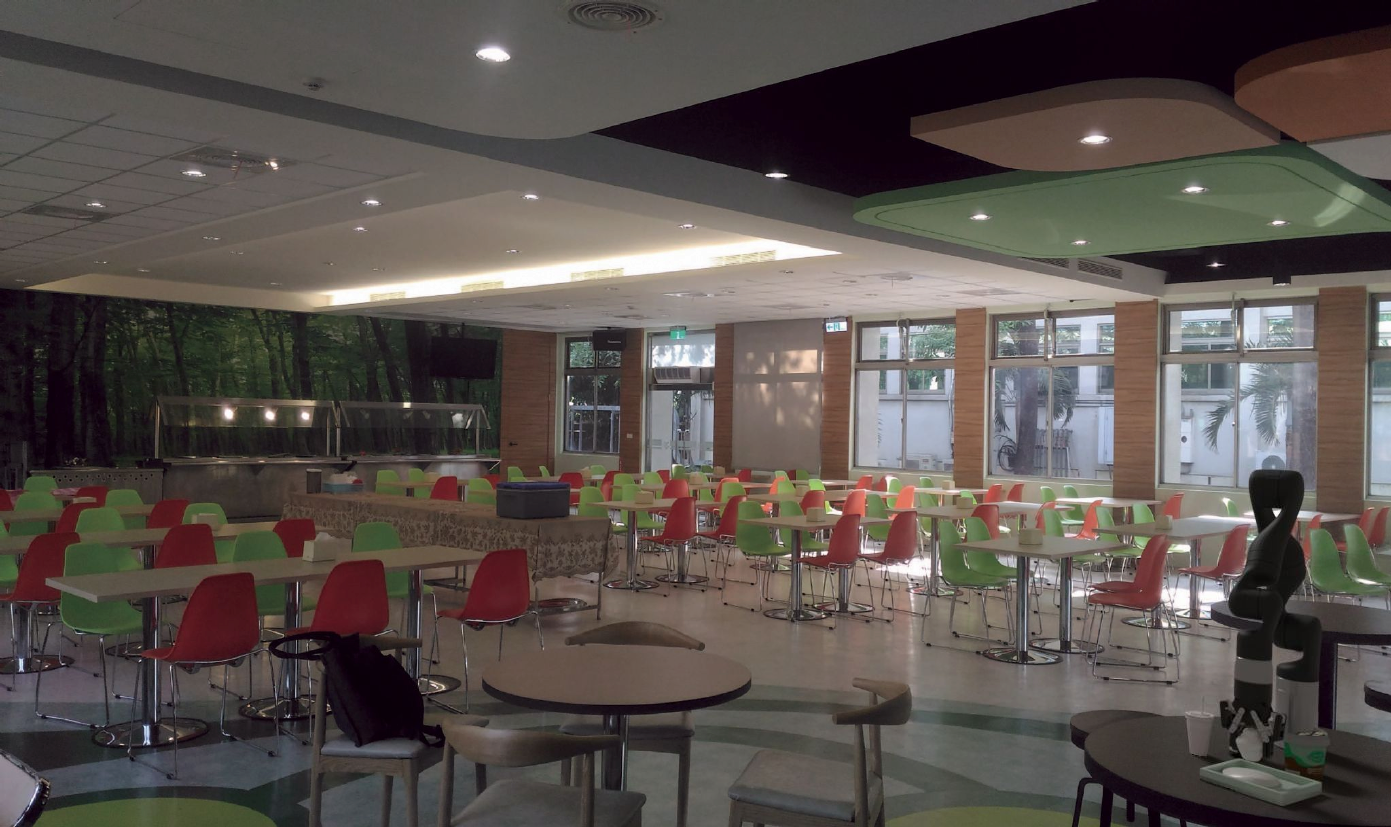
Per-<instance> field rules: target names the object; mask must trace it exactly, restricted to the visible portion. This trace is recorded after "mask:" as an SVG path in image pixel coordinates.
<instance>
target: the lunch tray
mask: <svg viewBox="0 0 1391 827" xmlns="http://www.w3.org/2000/svg"><path fill="white" fill-rule="evenodd" d="M1199 778H1201V779H1202V780H1206V781H1208V782H1207V783H1209V782H1212V783H1214V784H1213V785H1215V784H1218V785H1220V786H1219V787H1221V786H1224V787H1226V788H1225V789H1227V788H1230V789H1231V791H1233V790H1235V791H1234V792H1236V793H1240V794H1243V795H1246V796H1249V797H1252V798H1256V799H1259V800H1262V801H1265V802H1268V803H1271V804H1274V805H1277V806H1281V807H1284V806H1288V805H1291V804H1295V803H1297V802H1301V801H1304V800H1307V799H1310V798H1313V797H1317V796H1320V795H1322V791H1323V790H1322V788H1323V787H1322V786H1323V783H1322V781H1320V780H1312V779H1308V778H1305V777H1302V776H1298V775H1295V774H1291V773H1288V772H1285V770H1282V769H1281V770H1280V769H1277V768H1273V767H1270V766H1267V765H1264V764H1261V763H1257V762H1255V761H1249V760H1244V759H1240V758H1234V759H1230V760H1227V761H1223V762H1220V763H1219V762H1218V763H1215V764H1212V765H1207V766H1204V767H1200V768H1199ZM1202 780H1201V781H1202ZM1206 781H1205V782H1206ZM1212 783H1211V784H1212ZM1218 785H1217V786H1218ZM1224 787H1223V788H1224ZM1230 789H1229V790H1230Z"/></svg>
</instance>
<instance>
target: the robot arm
mask: <svg viewBox="0 0 1391 827" xmlns="http://www.w3.org/2000/svg"><path fill="white" fill-rule="evenodd" d="M1305 492H1306V491H1305V480H1304V477H1303V475H1302V473H1300V472H1299V471H1297V470H1289V469H1266V468H1263V469H1262V468H1261V469H1260V468H1259V469H1255V470H1253V471H1251V473H1250V474H1249V478H1248V493H1249V494H1248V495H1249V498H1250V504H1251V509H1252V511H1253V516H1254V521H1255V524H1256V527H1257V533H1258V534H1257V535H1256V537H1255V538H1253V540H1252V542H1251V543H1250V546H1249V547H1248V551H1247V555H1246V561H1245V564H1244V568H1243V570H1242V573H1241V575H1240V577H1239V578H1238V580H1237V581H1236V583H1235V585H1234V586H1233V588H1232V589H1231V591H1230V593H1229V596H1228V599H1227V600H1228V601H1227V606H1228V609H1229V611H1230V613H1231V614H1232V615H1233V616H1234V617H1236V618H1239V619H1240V618H1241V619H1246V620H1247V619H1248V620H1254V621H1262V622H1261V623H1262V624H1261V626H1260V627H1258V628H1250V629H1249V628H1247V629H1246V628H1245V629H1240V630H1239V631H1237V634H1236V648H1235V649H1236V650H1235V651H1236V652H1235V654H1236V655H1235V661H1234V662H1235V663H1234V667H1233V668H1234V670H1233V677H1234V678H1233V696H1234V698H1233V700H1232V701H1231V700H1229V699H1224V700H1220V701H1219V713H1220V722H1221V724H1220V725H1221V727H1222V728H1223V729H1227V730H1228V732H1229V731H1230V745H1231V747H1232V749H1233V750H1235V751H1237V750H1239V749H1238V747H1237V744H1236V738H1237V737H1238V736H1241V733H1239V731H1240V730H1241V728H1242V727H1243V725H1244V724H1245V723H1246V724H1247V723H1249V724H1252V725H1254V726H1257V728H1258V730H1259V732H1260V733H1261V736H1262V738H1263V740H1264V742H1263V756H1262V759H1264V760H1270V759H1271V758H1272V757H1273V756H1274V752H1275V751H1274V750H1275V748H1274V747H1275V746H1276V747H1278V748H1282V749H1284V741H1282V740H1283V739H1284V733H1285V732H1286V733H1290V734H1295V733H1298V732H1311V731H1313V727H1315V728H1318V729H1319V688H1320V687H1319V685H1320V684H1319V683H1320V682H1319V680H1320V678H1319V677H1320V675H1319V674H1320V663H1321V662H1320V661H1321V658H1320V657H1321V648H1322V636H1323V626H1322V623H1321V620H1320V618H1319V617H1318V616H1314V615H1310V614H1309V615H1308V614H1301V613H1293V612H1287V610H1286V605H1287V603H1288V602H1289V600H1290V598H1291V597H1292V596H1293V595H1294V594H1295V592H1296V591H1297V590H1298V589H1299V588H1300V587H1301V585H1302V584H1303V582H1304V581H1305V579H1306V576H1307V565H1306V558H1305V551H1304V549H1303V547H1302V545H1301V544H1300V542H1299V541H1298V540H1297V539H1296V537H1295V536H1293V534H1292V532H1293V529H1294V528H1295V524H1296V521H1297V519H1298V516H1299V514H1300V511H1301V507H1302V505H1303V501H1304V497H1305ZM1273 509H1278V510H1280V511H1279V513H1278V514H1277V516H1276V515H1275V513H1274V510H1273ZM1263 587H1265V588H1263ZM1274 646H1275V647H1276V648H1279V649H1283V650H1287V651H1288V650H1289V651H1294V652H1301V653H1303V654H1302V657H1301V658H1299V659H1297V660H1294V661H1292V660H1291V661H1287V662H1285V661H1284V662H1281V663H1278V664H1277V665H1276V667H1275V700H1274V702H1275V706H1274V709H1273V706H1272V704H1273V688H1274V684H1273V683H1274V667H1273V647H1274ZM1232 709H1234V710H1235V711H1236V713H1237V715H1236V716H1235V718H1234V720H1233V723H1232V713H1231V710H1232ZM1274 710H1275V711H1274ZM1271 718H1272V722H1273V727H1272V725H1271V722H1270V719H1271ZM1274 745H1275V746H1274Z"/></svg>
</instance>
